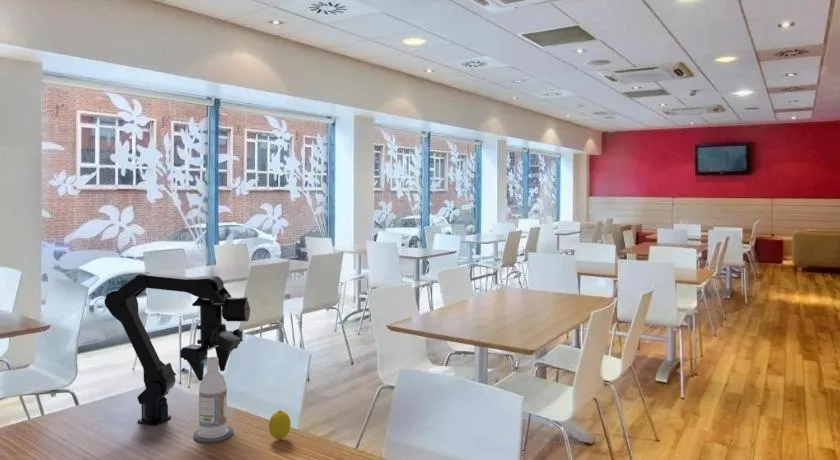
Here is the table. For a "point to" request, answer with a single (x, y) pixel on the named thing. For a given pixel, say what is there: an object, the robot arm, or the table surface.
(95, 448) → the table surface
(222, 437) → the dock pad
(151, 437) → the table surface
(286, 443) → the table surface
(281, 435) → the lemon
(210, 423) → the bath foam
